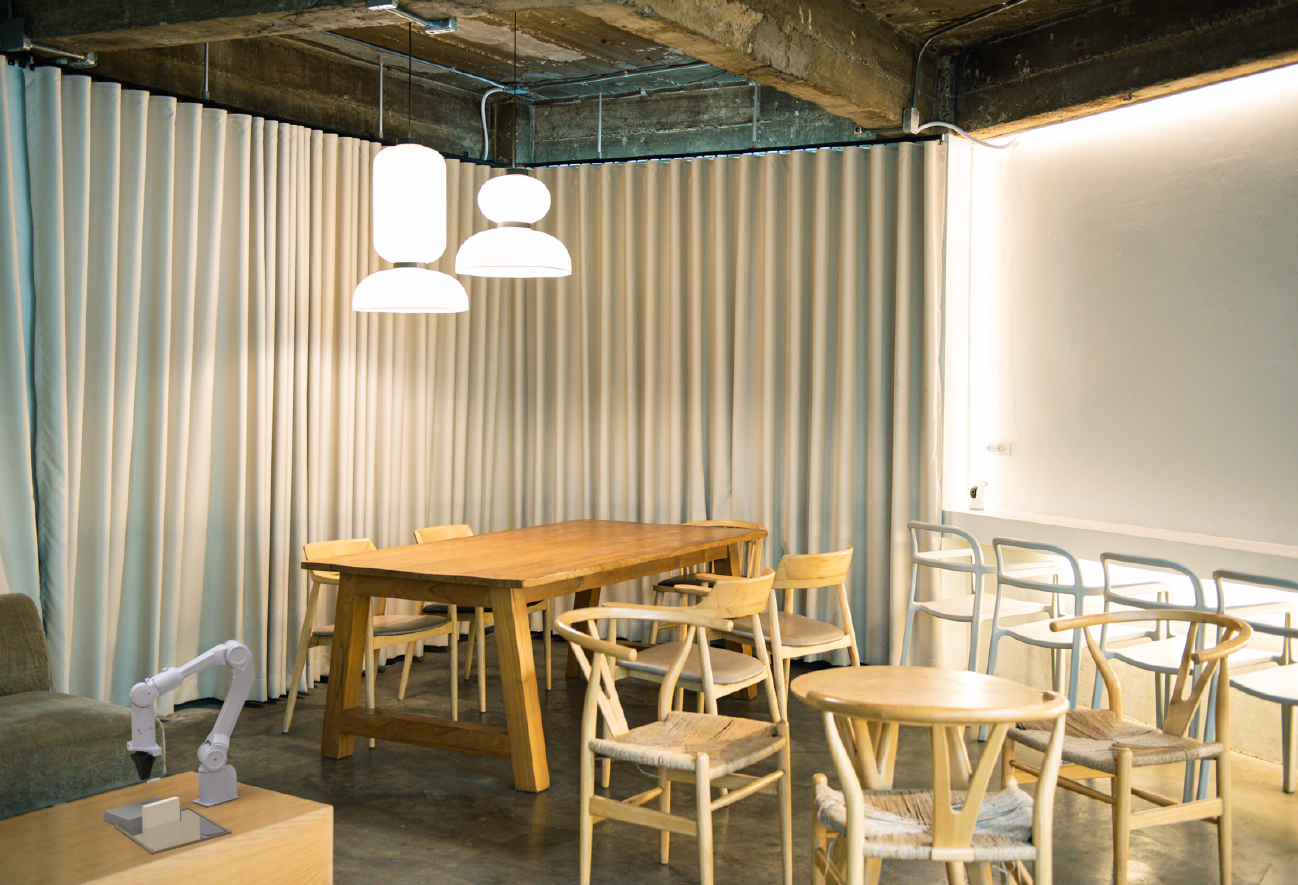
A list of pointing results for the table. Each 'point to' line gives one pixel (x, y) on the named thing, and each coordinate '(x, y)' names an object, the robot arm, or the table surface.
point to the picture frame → (175, 832)
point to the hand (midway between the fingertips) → (144, 778)
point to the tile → (160, 812)
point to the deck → (129, 813)
